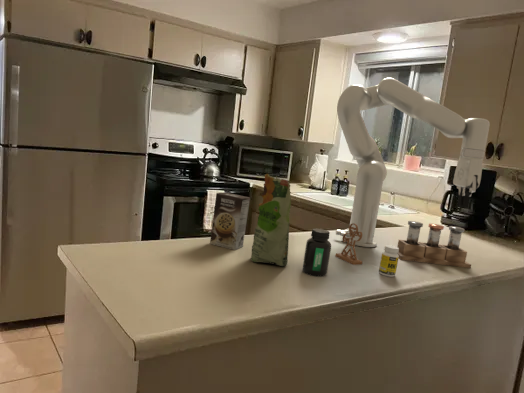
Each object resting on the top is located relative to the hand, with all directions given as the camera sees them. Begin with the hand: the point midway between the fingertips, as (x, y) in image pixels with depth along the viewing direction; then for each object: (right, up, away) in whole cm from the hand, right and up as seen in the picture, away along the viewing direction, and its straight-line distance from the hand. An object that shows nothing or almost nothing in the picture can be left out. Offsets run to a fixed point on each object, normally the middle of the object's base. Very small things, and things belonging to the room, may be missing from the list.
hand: (462, 206), depth 154 cm
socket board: (-11, -19, +2) cm, 22 cm away
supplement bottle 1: (-56, -18, -32) cm, 67 cm away
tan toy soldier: (-43, -17, -13) cm, 48 cm away
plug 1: (-17, -13, +1) cm, 22 cm away
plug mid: (-10, -14, +2) cm, 18 cm away
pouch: (-69, -15, -28) cm, 76 cm away
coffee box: (-81, -12, -16) cm, 84 cm away
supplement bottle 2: (-33, -20, -24) cm, 45 cm away
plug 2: (-3, -15, +2) cm, 16 cm away
